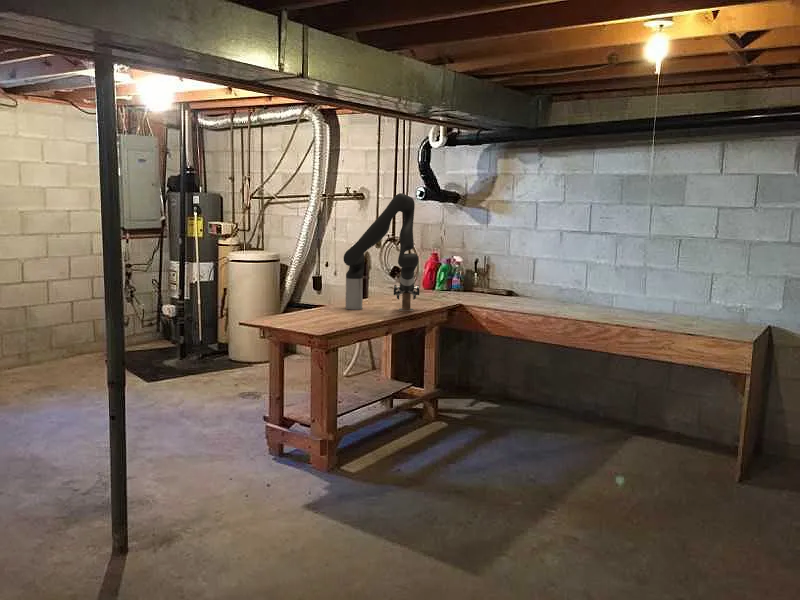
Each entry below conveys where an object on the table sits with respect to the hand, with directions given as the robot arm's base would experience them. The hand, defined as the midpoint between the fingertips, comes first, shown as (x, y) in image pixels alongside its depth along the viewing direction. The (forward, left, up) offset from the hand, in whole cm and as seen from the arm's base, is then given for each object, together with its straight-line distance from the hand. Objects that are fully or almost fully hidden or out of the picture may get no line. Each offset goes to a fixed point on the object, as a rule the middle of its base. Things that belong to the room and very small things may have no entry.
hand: (406, 298), depth 373 cm
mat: (0, -1, -6) cm, 6 cm away
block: (0, -1, -6) cm, 6 cm away
